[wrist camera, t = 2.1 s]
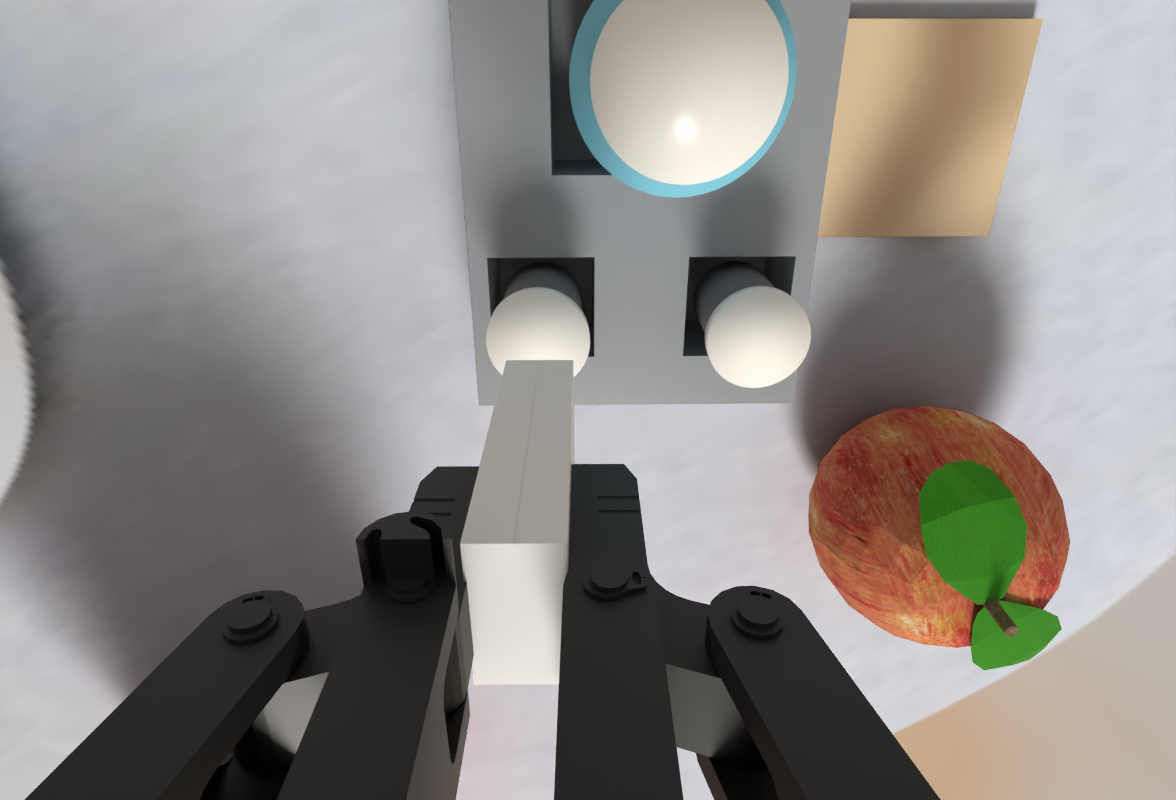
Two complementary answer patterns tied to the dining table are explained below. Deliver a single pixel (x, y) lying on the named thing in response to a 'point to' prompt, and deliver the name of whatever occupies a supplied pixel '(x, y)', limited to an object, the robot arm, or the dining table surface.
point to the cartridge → (682, 89)
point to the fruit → (942, 532)
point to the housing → (627, 204)
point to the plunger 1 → (539, 319)
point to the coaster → (924, 125)
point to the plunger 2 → (750, 325)
